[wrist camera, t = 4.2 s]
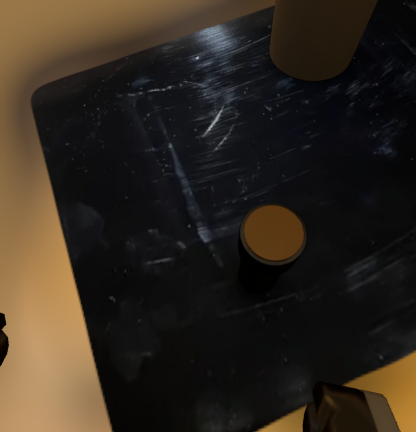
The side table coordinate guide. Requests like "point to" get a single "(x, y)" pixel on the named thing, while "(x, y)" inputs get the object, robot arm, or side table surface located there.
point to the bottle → (317, 36)
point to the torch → (269, 245)
